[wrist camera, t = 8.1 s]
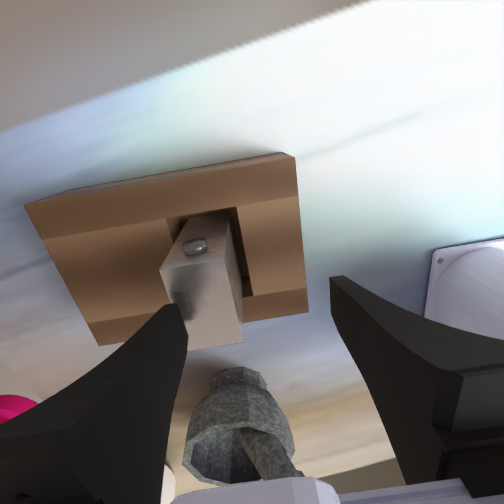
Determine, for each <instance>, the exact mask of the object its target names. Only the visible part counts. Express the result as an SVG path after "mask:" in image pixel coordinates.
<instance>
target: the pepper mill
mask: <svg viewBox="0 0 504 504" xmlns="http://www.w3.org/2000/svg"><path fill="white" fill-rule="evenodd" d="M36 405H38V404H37V403H36V402H35V401H33V400H30V399H28V398H25V397H21V396H17V395H0V424H2V423H4V422H6V421H8V420H10V419H12V418H14V417H15V416H17V415H19V414H21V413H23V412H25V411H27V410H29V409H31V408H32V407H34V406H36Z"/></svg>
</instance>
